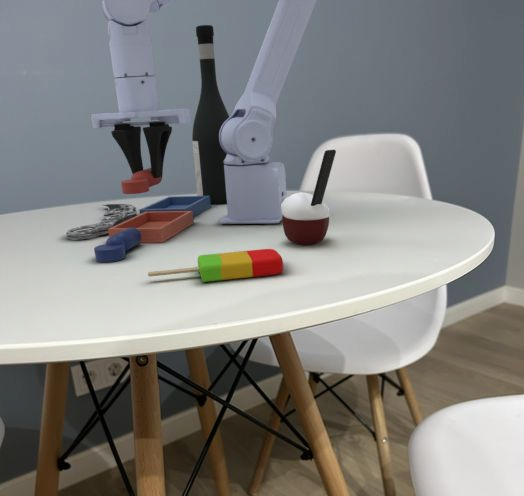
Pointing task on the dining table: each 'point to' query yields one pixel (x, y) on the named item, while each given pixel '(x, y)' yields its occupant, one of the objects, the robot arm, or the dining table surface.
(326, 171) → the cocoa
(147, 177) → the red lobed piece
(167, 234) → the red tray
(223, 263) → the popsicle
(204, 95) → the wine bottle
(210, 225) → the dining table surface
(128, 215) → the marbled grey crescent
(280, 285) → the dining table surface
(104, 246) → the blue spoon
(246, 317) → the dining table surface
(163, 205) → the blue tray
